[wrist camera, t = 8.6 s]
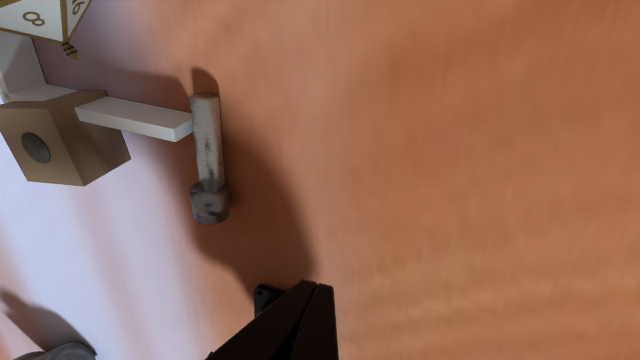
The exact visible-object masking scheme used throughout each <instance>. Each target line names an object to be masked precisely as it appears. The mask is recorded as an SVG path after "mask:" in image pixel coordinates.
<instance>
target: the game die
mask: <svg viewBox="0 0 640 360" xmlns="http://www.w3.org/2000/svg"><path fill="white" fill-rule="evenodd" d="M91 1H92V0H0V31H3V32H8V33H12V34H17V35H21V36H26V37H30V38H35V39H40V40H44V41H49V42H53V43H58V44H62V45H63V47H64V51H65V52H66V53H67V54H66V55H69V56H71V57H72V58H74V59H76V60H77V50H75V49H74V48H73V47H74V46H71V45H70V44H69V42H68V41H69V39H70V38H71V36H72V34H73V32H74V31H75V29H76V27H77V25H78V24H79V22H80V20H81V18H82V17H83V15H84V13H85V11H86V10H87V8H88V6H89V4H90V3H91Z"/></svg>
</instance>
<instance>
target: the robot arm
mask: <svg viewBox="0 0 640 360" xmlns="http://www.w3.org/2000/svg"><path fill="white" fill-rule="evenodd" d="M254 309H255V319H253V320H252V321H251V322H250V323H248V324H247V325H246V326H245V327H244V328H242V329H241V330H240V331H239V332H238V333H236V334H235V335H234V336H233V337H232V338H230V339H229V340H228V341H227V342H225V343H224V344H223V345H222V346H221V347H219V348H218V349H217V350H216V351H215V352H212V351H211V352H210V354H209V355H208V357H207V358H206V359H205V360H339V356H338V343H337V329H336V316H335V302H334V290H333V287H332V286H329V285H326V284H322V283H319V284H317V283H316V282H314V281H310V280H306V279H302V280H301V281H299V282H298V283H297V284H296V285H295V286H293V287H292V288H291V289H290V290H288V291H287V292H283V291H280V290H277V289H273V288H270V287H267V286H264V285H257V287H256V288H255V290H254Z"/></svg>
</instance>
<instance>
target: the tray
mask: <svg viewBox="0 0 640 360" xmlns="http://www.w3.org/2000/svg"><path fill="white" fill-rule="evenodd" d="M75 91H79V90H74V89H69V88H64V87H59V86H54V85H49V84H46V82H45V79H44V76H43V73H42V70H41V67H40V64H39V61H38V57H37V54H36V51H35V48H34V45H33V42H32V39H31V38H30V37H26V36H21V35H17V34H12V33H8V32H3V31H0V95H1V97H2V100H3V102H4V104H5V103H8V102H12V101H46V100H49V99H52V98H56V97H59V96H62V95H66V94H69V93H72V92H75ZM75 111H76V113H77V115H78V118H79V120H80V121H83V122H88V123H92V124H97V125H101V126H106V127H110V128H115V129H119V130H124V131H128V132H132V133H137V134H141V135H146V136H150V137H155V138H159V139H164V140H168V141H173V142H177V141H179V140H180V139H182V138H183V137H185V136H187V135H188V134H190V133H192V132H193V123H192V115H191V113H188V112H183V111H178V110H173V109H168V108H163V107H158V106H153V105H148V104H143V103H138V102H133V101H128V100H123V99H119V98H114V97H109V96H106V97H104V98H101V99H98V100H95V101H92V102H89V103H86V104H83V105H81V106H78V107H75Z"/></svg>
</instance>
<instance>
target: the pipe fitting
mask: <svg viewBox="0 0 640 360" xmlns="http://www.w3.org/2000/svg"><path fill="white" fill-rule="evenodd" d="M14 360H96V359H95V356H94V353H93V352H92V350H91V349H90V348H89V347H87V346H86V345H84V344H82V343H76V342H72V343H66V344H63V345H61V346H58V347H56V348H54V349H52V350H50V351H48V352H44V351H37V352H31V353H27V354H24V355H22V356H20V357H18V358H16V359H14Z"/></svg>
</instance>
